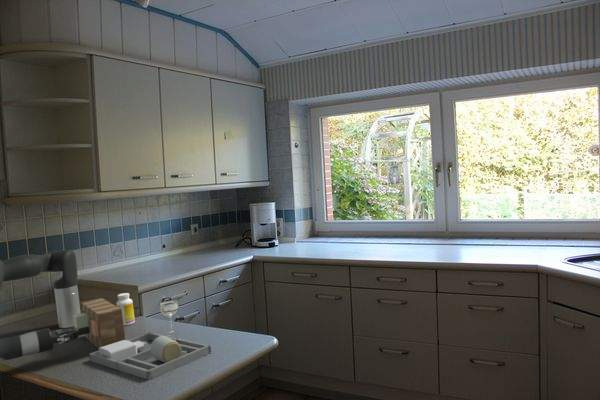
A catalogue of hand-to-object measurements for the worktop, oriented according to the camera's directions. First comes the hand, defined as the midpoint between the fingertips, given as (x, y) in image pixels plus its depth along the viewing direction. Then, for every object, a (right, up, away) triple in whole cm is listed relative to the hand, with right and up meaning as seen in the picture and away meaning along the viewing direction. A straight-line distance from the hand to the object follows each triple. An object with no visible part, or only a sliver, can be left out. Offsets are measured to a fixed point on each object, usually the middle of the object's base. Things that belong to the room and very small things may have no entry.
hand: (89, 329), depth 182 cm
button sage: (-8, -3, +14) cm, 16 cm away
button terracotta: (+3, -2, +3) cm, 5 cm away
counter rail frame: (+25, -6, -12) cm, 29 cm away
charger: (+16, -7, -8) cm, 19 cm away
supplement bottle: (+2, -6, +34) cm, 34 cm away
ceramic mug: (+34, -6, -16) cm, 38 cm away
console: (+1, -7, +11) cm, 13 cm away
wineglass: (+27, -5, +13) cm, 30 cm away
